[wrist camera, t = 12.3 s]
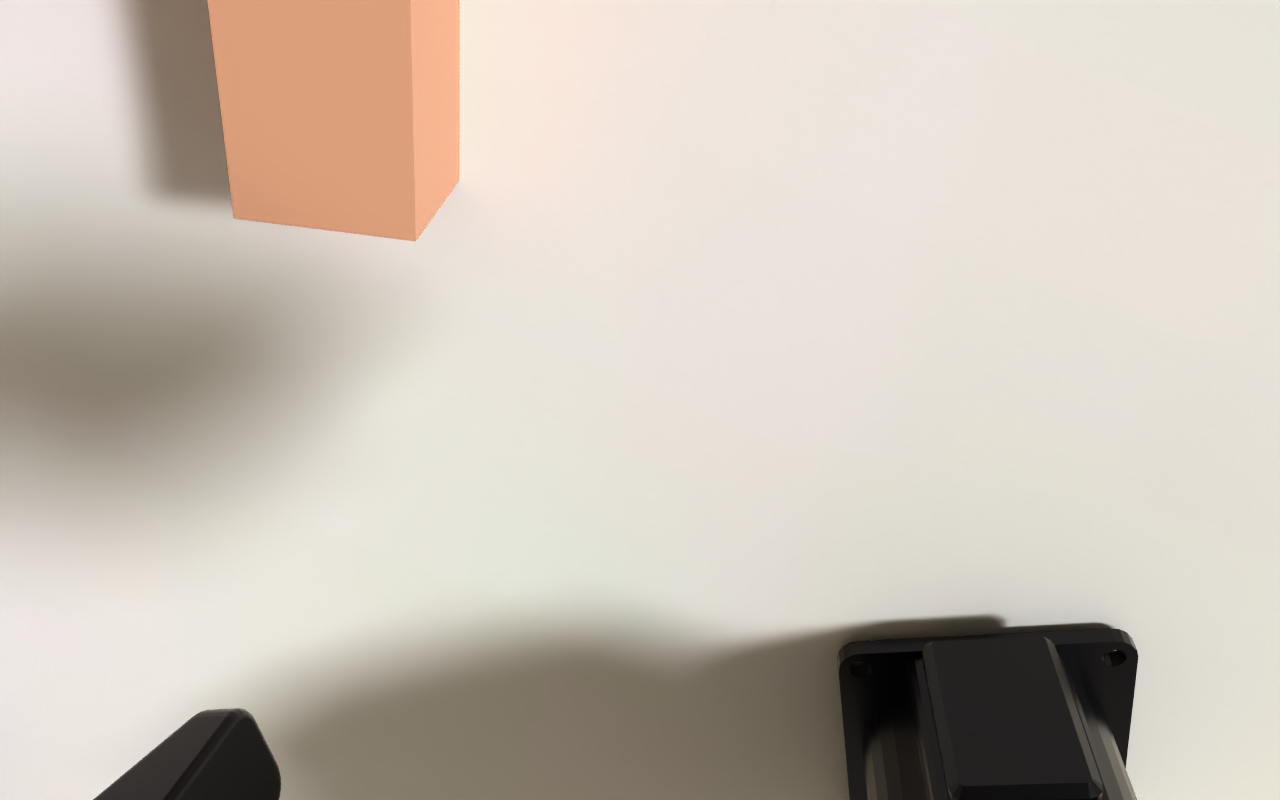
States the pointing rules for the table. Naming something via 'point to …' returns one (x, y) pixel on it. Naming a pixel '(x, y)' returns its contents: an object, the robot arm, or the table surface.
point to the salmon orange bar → (339, 111)
